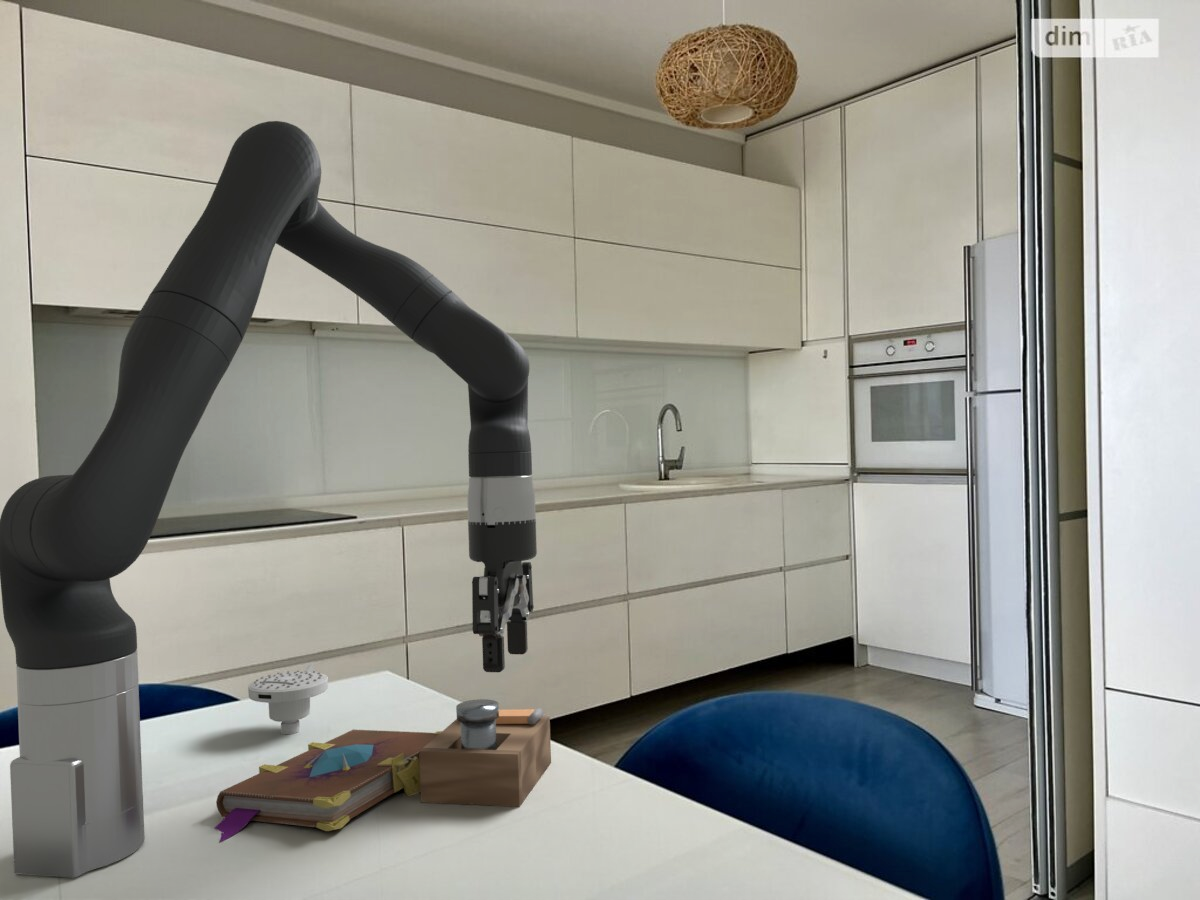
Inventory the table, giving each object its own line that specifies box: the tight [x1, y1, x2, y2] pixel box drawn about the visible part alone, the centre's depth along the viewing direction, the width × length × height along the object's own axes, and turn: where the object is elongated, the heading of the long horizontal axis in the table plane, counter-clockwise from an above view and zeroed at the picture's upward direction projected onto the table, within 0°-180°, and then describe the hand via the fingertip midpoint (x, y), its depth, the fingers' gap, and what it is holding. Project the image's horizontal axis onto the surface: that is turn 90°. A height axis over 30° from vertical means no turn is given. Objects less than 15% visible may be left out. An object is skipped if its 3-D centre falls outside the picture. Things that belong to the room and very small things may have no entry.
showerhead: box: [247, 663, 329, 735], centre depth 113 cm, size 9×7×10 cm
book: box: [213, 729, 443, 843], centre depth 91 cm, size 16×25×5 cm, turn 157°
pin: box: [456, 698, 500, 750], centre depth 90 cm, size 4×4×9 cm
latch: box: [496, 707, 544, 725], centre depth 97 cm, size 3×9×1 cm, turn 79°
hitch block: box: [419, 715, 552, 807], centre depth 93 cm, size 12×10×5 cm
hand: (506, 662), depth 101 cm, fingers open, 8 cm apart
